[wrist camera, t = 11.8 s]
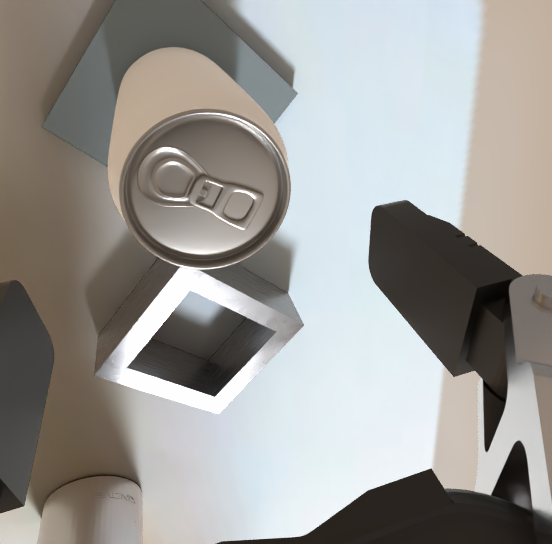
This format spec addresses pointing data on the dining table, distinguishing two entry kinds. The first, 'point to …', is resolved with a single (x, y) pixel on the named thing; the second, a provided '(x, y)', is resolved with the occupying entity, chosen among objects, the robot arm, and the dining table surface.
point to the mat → (139, 41)
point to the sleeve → (183, 366)
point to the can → (195, 162)
